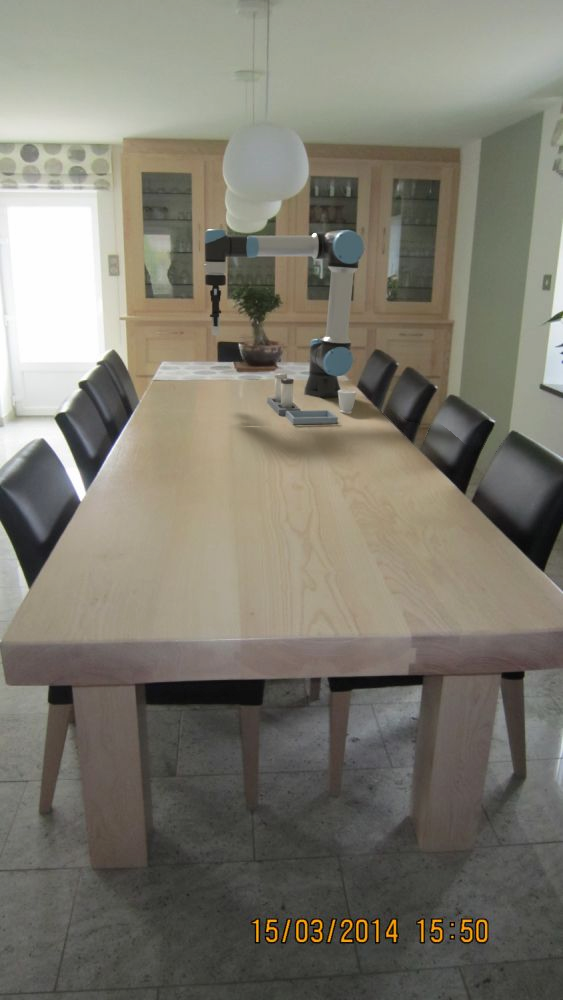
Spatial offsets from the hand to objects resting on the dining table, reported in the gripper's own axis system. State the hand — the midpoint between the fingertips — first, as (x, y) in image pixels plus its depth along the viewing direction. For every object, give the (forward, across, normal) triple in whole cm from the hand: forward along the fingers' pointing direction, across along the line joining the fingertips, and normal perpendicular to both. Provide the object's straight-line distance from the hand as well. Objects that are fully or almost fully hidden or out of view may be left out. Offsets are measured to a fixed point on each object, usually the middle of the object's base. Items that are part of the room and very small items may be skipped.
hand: (215, 333), depth 281 cm
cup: (+27, +11, +49) cm, 57 cm away
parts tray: (+27, +27, +34) cm, 51 cm away
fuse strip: (+27, +9, +25) cm, 38 cm away
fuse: (+26, +4, +24) cm, 36 cm away
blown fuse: (+26, +15, +26) cm, 40 cm away
